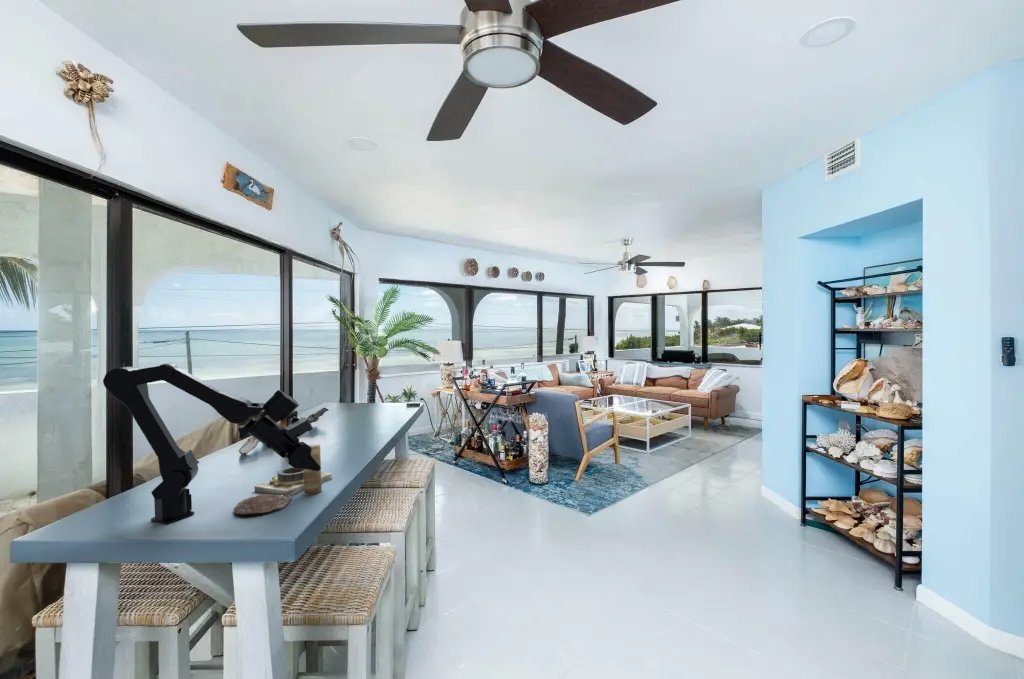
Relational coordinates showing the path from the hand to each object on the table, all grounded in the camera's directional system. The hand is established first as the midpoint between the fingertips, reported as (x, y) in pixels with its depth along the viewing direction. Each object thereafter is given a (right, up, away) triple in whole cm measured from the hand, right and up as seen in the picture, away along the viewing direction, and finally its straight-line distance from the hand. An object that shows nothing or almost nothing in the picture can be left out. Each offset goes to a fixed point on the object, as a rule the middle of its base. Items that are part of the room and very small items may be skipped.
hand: (315, 465), depth 125 cm
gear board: (-9, -7, +6) cm, 13 cm away
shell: (-9, -8, -11) cm, 16 cm away
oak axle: (0, -7, 0) cm, 7 cm away
